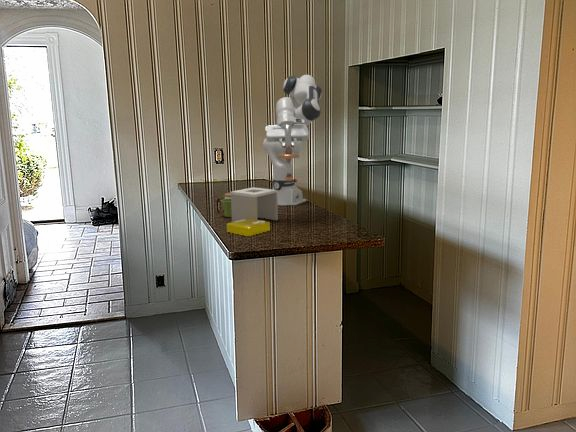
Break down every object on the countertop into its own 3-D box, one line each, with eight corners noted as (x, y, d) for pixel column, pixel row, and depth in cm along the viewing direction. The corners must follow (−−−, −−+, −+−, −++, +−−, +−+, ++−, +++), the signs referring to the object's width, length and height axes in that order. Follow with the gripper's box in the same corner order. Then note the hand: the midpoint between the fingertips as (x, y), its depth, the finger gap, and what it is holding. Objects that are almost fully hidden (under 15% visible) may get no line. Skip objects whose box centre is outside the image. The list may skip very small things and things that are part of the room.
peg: (287, 178, 253) (286, 124, 248) (304, 180, 247) (302, 124, 242) (274, 181, 246) (272, 125, 241) (290, 182, 240) (289, 125, 234)
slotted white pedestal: (254, 216, 268) (253, 187, 265) (277, 219, 258) (277, 190, 255) (231, 221, 256) (230, 191, 253) (256, 226, 246) (255, 194, 243)
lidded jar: (240, 209, 287) (240, 192, 285) (222, 208, 289) (221, 192, 287) (246, 205, 297) (245, 189, 295) (228, 205, 299) (227, 189, 297)
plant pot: (222, 218, 263) (222, 202, 261) (220, 215, 272) (219, 198, 270) (241, 217, 266) (240, 200, 264) (237, 214, 274) (237, 197, 273)
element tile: (248, 226, 247) (248, 217, 246) (272, 231, 237) (271, 221, 236) (225, 233, 235) (224, 222, 234) (248, 237, 226) (248, 227, 225)
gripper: (264, 120, 247) (266, 143, 239) (307, 119, 248) (310, 141, 241) (264, 129, 252) (266, 152, 245) (306, 128, 254) (309, 150, 246)
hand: (288, 146), depth 243 cm, fingers closed on peg, 3 cm apart
